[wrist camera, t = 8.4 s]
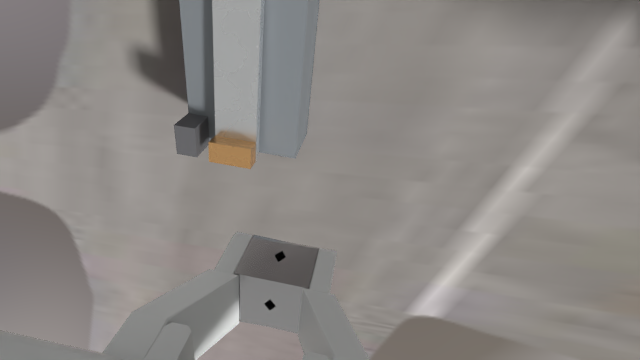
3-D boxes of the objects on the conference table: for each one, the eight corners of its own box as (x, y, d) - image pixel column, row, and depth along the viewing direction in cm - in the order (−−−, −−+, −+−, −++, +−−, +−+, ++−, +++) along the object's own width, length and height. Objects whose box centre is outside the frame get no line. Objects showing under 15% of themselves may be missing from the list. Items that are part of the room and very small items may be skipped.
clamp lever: (265, -40, 30) (255, -41, 27) (258, 157, 38) (250, 168, 36) (216, -47, 30) (202, -48, 28) (219, 150, 38) (209, 161, 36)
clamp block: (326, -77, 33) (306, -84, 25) (306, 133, 44) (288, 173, 36) (204, -92, 34) (149, -103, 26) (213, 118, 45) (177, 153, 37)
